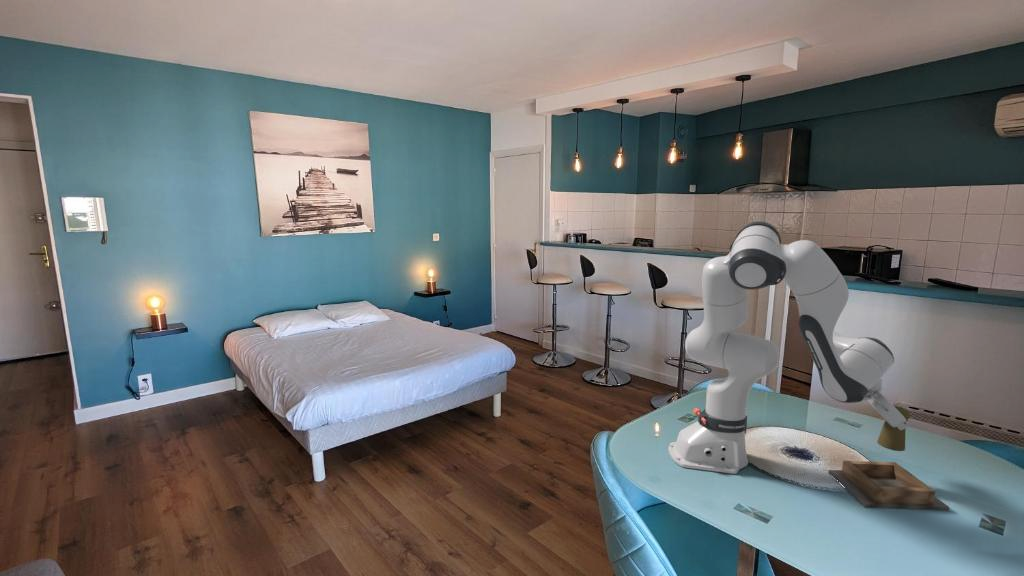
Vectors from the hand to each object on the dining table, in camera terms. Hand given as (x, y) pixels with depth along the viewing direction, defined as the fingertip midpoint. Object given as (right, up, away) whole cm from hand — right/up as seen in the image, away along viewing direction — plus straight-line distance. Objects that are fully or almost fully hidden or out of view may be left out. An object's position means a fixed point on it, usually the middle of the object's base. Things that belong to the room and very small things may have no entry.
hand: (897, 422), depth 129 cm
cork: (-1, -7, +2) cm, 7 cm away
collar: (-4, -18, -1) cm, 18 cm away
